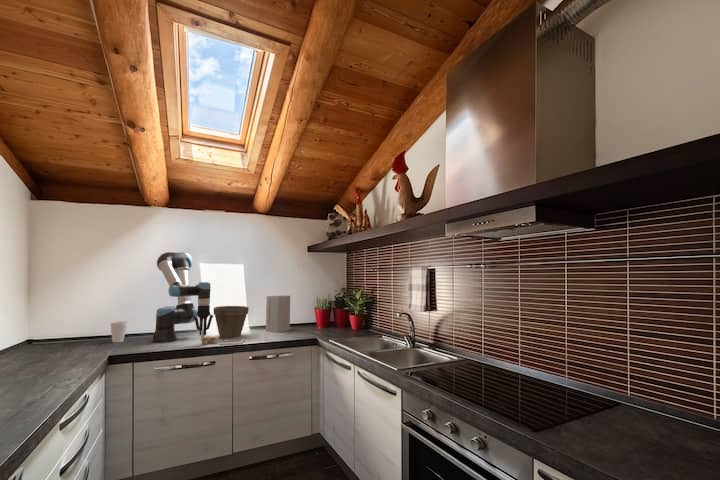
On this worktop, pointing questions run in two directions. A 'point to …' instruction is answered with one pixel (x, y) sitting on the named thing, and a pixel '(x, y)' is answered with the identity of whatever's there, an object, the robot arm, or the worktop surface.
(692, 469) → the worktop surface
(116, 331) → the foam cup
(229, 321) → the plant pot
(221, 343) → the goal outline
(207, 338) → the t block
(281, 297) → the grey faceted cylinder
